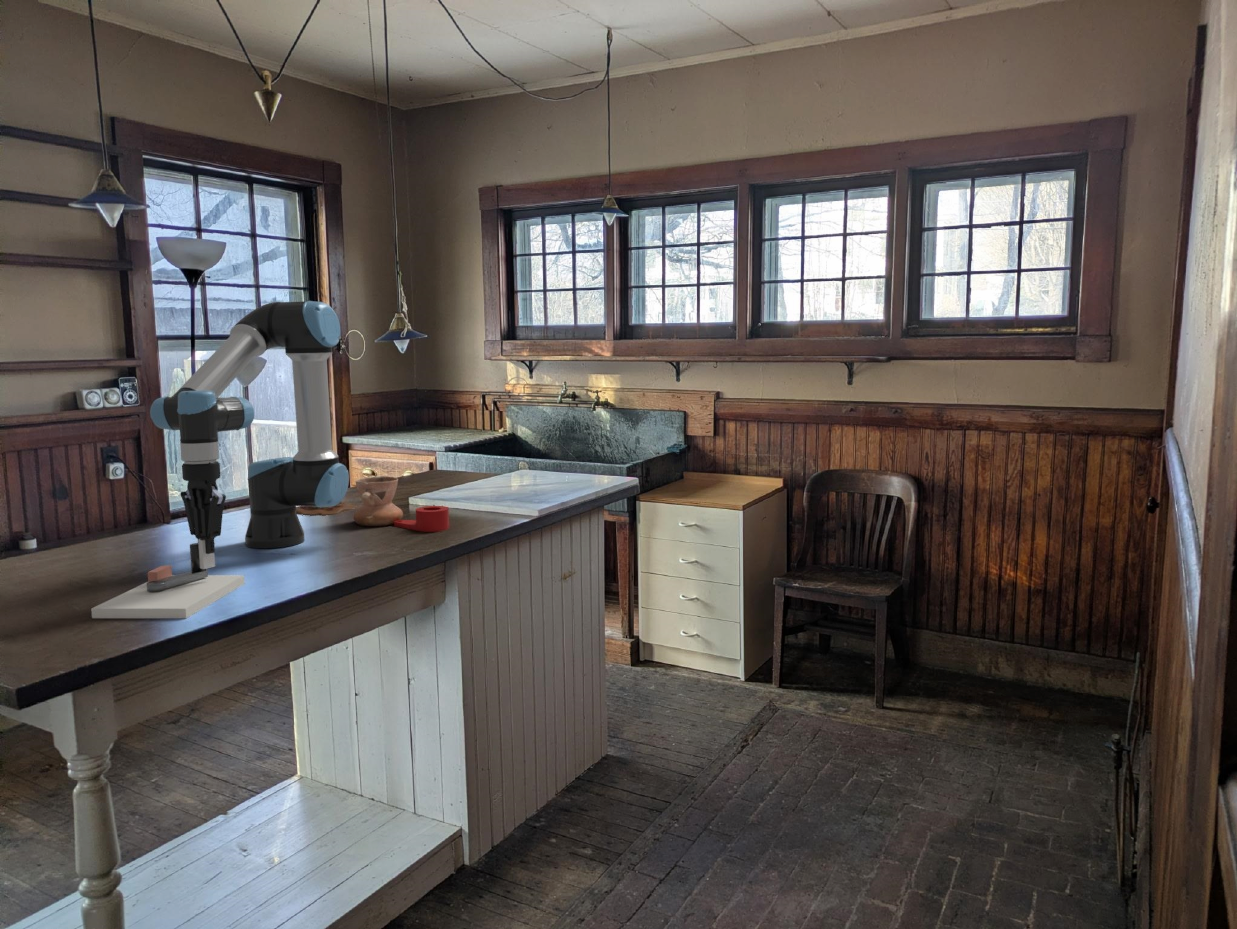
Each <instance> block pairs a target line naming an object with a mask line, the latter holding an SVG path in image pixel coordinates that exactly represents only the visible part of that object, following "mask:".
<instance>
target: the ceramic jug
mask: <svg viewBox="0 0 1237 929" xmlns="http://www.w3.org/2000/svg"><path fill="white" fill-rule="evenodd" d="M398 484H399V478H398V477H394V476H388V475H387V476H385V475H384V476H383V475H380V476H367V477H359V478H357V479H355V486H356V490H357V493H358V494H359V497H360V499H361V501H362V503H363V504H362V505H360V506H359V507H358V508H356V509H355V511H354V512H353V517H352V518H353V520H354V522H355V524H357V525H359V526H362V527H384V526H391V525H394V521H397V520H403V516H404V512H403V510H402V509H401V508H400V507H398V505H397V506H396V505H395V504H394V503H393V499H394V497H395V494H396V491H397V488H398Z"/></svg>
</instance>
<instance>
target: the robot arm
mask: <svg viewBox="0 0 1237 929" xmlns="http://www.w3.org/2000/svg"><path fill="white" fill-rule="evenodd" d="M341 333H342V332H341V324H340V320H339V317H338V315H337V314H336V312H335V310H333V308H332V307H331V305H329V304H328V303H326V302H323V301H313V300H308V301H305V300H303V301H283V302H281V301H274V302H268V303H266V304H263V305H260V306H259V307H257V308H255V309H253V310H252V311H251V312H249V313H248V314H246V315H245V316H244V317H242V318H241V319H240V320H239V321H237V322H236V324H235V325H234V326H233V327H232V328H231V329H230V331H229V337H228V338H227V339H226V340H224V342H223V343H222V344H221V345H220V346H219V347H218V348H217V349H216V350H215V351H214V352H213V354H212V355H211V356H210V357H209V358H208V359H207V360H205V362H203V364H202V365H201V366H200V367H199V368H198V369H197V370H196V371H195V372H194V373H193V374H192V375H191V376H190V377H189V378H188V380H186V382H185V383H184V384H182V386H181V387H180V388H179V389H178V390H177V391H176V392H175V393H174V394H173V395H172V396H164V397H159V398H157V399H155V400H154V401H153V402H152V404H151V406H150V410H149V411H150V412H149V413H150V418H151V420H152V423H153V424H154V425H155V427H157V428H159V429H160V430H161V429H162V430H168V431H169V430H170V431H179V437H180V439H179V442H180V443H179V445H180V460H181V461H182V462H183V463H182V464H181V472H182V473H181V475H182V480H183V481H184V482H187V485H186V486H187V490H185V491H181V492H180V498H181V499H182V502H183V504H184V505H183V506H184V510H185V515H186V520H187V523H188V528H189V529H188V530H189V533H190V535H192V536H195V538H196V539H197V543H198V550H199V559H200V568H201V569H206V570H208V569H210V568H215V567H216V558H215V551H216V549H215V538H217V537H218V536H219V537H220V536H221V534H222V526H223V525H222V524H223V514H224V504H225V501H226V499H227V496H226V494H225V493H222V494H221V493H220V492H219V491H218V490H219V488H218V484H217V480H218V479H220V478H221V463H220V462H219V461H217V460H219V459H220V454H219V452H220V451H219V432H220V433H221V432H228V431H229V432H230V431H240V430H242V429H246V428H248V427H249V426H251V424H252V423H253V421H254V418H255V409H254V407H253V404H252V403H251V402H250V400H249V399H247V398H245V397H241V396H238V397H237V396H230V397H220V396H221V395H222V394H223V392H225V390H226V389H227V388H228V387H229V385H231V383H232V382H233V381H234V380H235V379H236V378H237V377H238V376H239V375H240V373H241V372H243V370H244V369H245V368H246V367H247V366H248V365H249V364H250V362H251V361H252V360H253V359H254V358H255V357H259V356H262V355H263V354H264V353H265V352H266V351H267V350H269V349H273V348H284V350H285V353H284V354H285V356H287V357H288V358H290V360H291V363H292V376H293V377H292V381H293V391H294V392H293V395H294V406H295V407H294V409H295V423H296V437H297V438H296V439H297V453H295V455H294V456H284V457H276V458H269V459H264V460H263V459H262V460H259V461H254V462H252V463H250V464H249V465H248V469H247V470H248V471H247V474H248V475H247V482H248V484H247V485H248V495H249V510H250V518H249V522H248V526H247V529H246V533H245V535H244V541H245V542H244V543H245V546H246V547H248V548H251V549H276V548H277V549H278V548H286V547H291V546H296V545H299V544H303V542H305V540H306V539H305V531H304V529H303V526H302V524H301V521H300V519H299V517H298V514H297V513H296V507H299V506H312V507H319V508H322V507H333V506H336V505H337V504H339V503H340V502H343V499H344V498H345V496H346V494H347V492H348V488H349V485H350V484H349V483H350V474H349V470H348V469H347V466H346V465H344V464H343V463H340V461H339V460H340V459H339V455H338V454H337V453H336V452H335V451H334V450H333V442H332V426H331V425H332V424H331V410H330V409H331V408H330V393H329V391H330V390H329V377H328V376H329V375H328V359H329V358H330V357H331V356H332V354H333V347H335V346H337V344H339V342H340V338H341Z"/></svg>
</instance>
